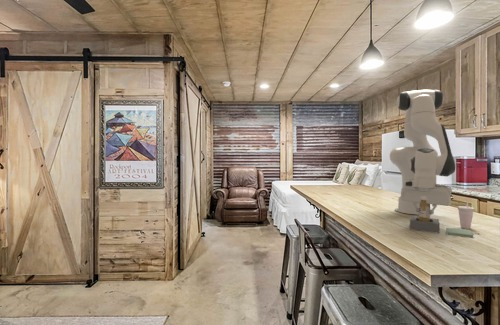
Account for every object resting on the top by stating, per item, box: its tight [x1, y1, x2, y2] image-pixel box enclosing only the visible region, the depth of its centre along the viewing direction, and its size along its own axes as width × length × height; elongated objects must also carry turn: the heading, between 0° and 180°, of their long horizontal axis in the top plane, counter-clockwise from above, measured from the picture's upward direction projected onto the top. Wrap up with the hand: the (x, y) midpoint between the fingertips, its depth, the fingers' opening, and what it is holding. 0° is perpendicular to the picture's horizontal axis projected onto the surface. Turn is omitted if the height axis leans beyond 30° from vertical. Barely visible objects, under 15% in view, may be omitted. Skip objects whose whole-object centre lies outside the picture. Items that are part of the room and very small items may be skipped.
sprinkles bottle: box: [418, 196, 431, 222], centre depth 134 cm, size 5×5×13 cm
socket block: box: [409, 215, 441, 234], centre depth 134 cm, size 11×11×4 cm
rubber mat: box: [445, 227, 474, 238], centre depth 126 cm, size 9×9×1 cm
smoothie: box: [457, 197, 475, 230], centre depth 135 cm, size 6×6×14 cm
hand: (424, 212), depth 134 cm, fingers closed on sprinkles bottle, 4 cm apart
